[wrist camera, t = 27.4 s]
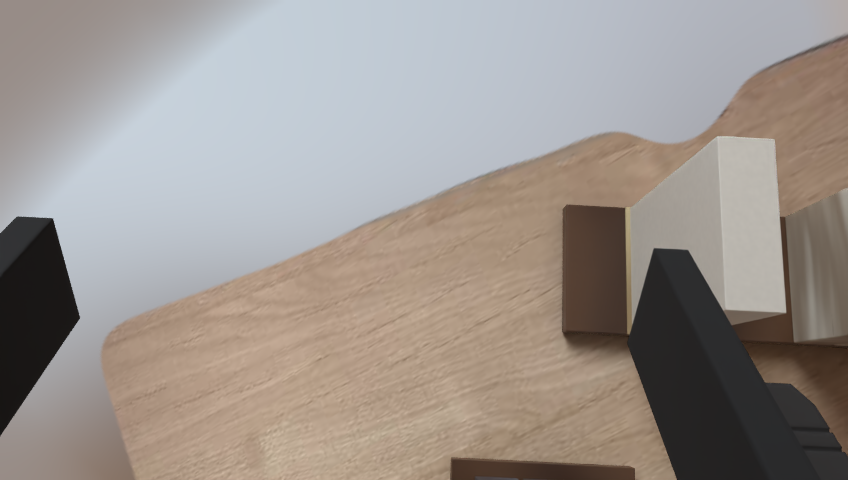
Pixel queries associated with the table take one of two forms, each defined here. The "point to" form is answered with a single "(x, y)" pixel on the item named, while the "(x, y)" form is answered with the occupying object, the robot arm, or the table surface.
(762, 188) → the white book
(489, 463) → the grey book row
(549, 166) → the table surface
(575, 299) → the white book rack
